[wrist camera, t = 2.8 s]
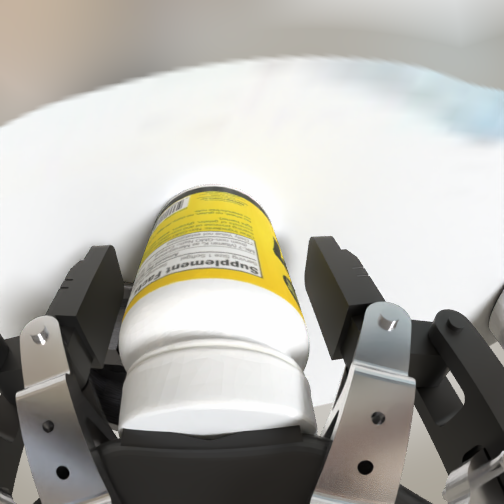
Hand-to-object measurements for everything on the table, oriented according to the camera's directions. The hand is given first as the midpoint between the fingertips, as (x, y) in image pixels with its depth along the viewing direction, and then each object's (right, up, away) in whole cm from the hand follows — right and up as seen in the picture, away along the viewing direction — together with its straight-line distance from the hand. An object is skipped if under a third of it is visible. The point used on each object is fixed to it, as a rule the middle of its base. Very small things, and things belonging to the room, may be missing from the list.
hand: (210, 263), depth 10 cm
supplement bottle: (0, +1, +2) cm, 2 cm away
